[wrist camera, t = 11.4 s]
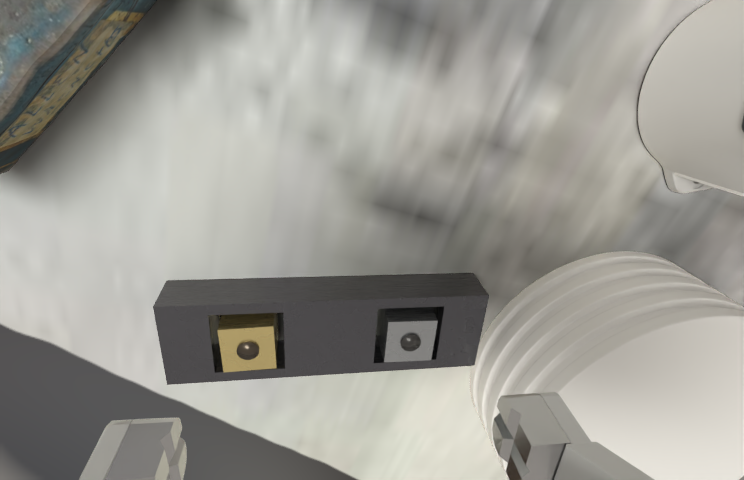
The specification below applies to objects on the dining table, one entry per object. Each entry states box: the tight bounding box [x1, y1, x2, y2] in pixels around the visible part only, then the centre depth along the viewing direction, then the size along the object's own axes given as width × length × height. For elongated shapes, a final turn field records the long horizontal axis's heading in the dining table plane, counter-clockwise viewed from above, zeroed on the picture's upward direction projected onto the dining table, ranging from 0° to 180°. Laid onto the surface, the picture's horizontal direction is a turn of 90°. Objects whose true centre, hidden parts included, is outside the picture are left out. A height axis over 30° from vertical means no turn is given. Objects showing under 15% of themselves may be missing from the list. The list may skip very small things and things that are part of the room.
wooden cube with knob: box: [217, 313, 279, 372], centre depth 39 cm, size 4×4×5 cm
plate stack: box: [470, 251, 744, 480], centre depth 45 cm, size 28×28×12 cm
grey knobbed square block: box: [376, 307, 438, 362], centre depth 41 cm, size 4×4×5 cm
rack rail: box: [153, 273, 489, 385], centre depth 40 cm, size 28×8×4 cm, turn 86°
